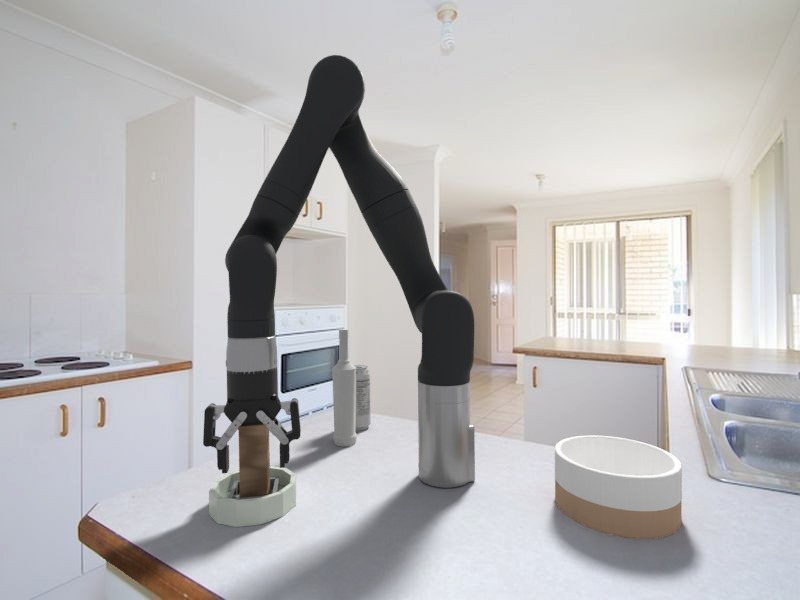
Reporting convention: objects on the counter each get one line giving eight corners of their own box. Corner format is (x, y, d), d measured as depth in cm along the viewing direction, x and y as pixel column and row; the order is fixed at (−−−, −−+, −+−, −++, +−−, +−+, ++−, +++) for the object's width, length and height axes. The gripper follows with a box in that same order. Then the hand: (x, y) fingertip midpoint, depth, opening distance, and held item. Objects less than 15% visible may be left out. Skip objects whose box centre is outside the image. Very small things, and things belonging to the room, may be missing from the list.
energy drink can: (359, 422, 111) (358, 363, 110) (375, 427, 106) (375, 366, 106) (340, 427, 106) (340, 366, 106) (357, 433, 102) (356, 369, 102)
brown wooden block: (270, 491, 70) (268, 417, 70) (267, 502, 66) (266, 424, 66) (244, 493, 70) (242, 419, 69) (239, 505, 66) (238, 426, 66)
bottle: (352, 447, 93) (351, 330, 92) (329, 446, 94) (328, 330, 93) (359, 439, 98) (358, 328, 97) (337, 438, 99) (336, 328, 98)
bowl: (697, 509, 65) (698, 454, 65) (656, 556, 54) (656, 490, 54) (585, 474, 78) (585, 428, 78) (533, 506, 67) (533, 452, 67)
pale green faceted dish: (297, 483, 75) (297, 463, 75) (294, 520, 63) (294, 496, 63) (220, 490, 73) (219, 470, 73) (201, 531, 61) (201, 506, 61)
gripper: (299, 359, 73) (301, 456, 73) (209, 363, 70) (211, 463, 70) (298, 367, 65) (300, 474, 66) (197, 372, 62) (199, 483, 63)
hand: (254, 468), depth 68 cm, fingers open, 8 cm apart
